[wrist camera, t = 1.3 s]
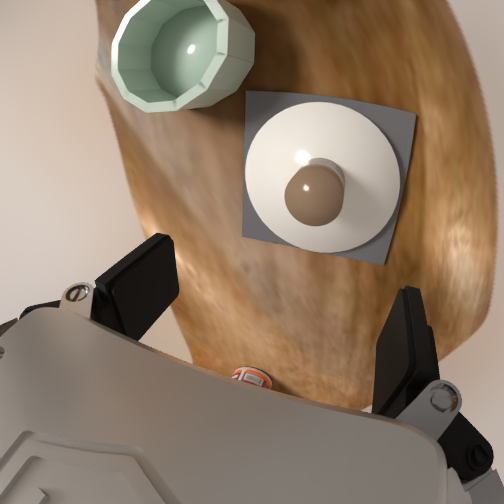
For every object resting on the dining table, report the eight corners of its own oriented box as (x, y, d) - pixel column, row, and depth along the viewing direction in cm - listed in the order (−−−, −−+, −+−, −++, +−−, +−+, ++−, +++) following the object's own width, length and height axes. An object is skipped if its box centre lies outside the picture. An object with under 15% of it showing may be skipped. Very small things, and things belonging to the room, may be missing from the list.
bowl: (152, 13, 19) (114, 5, 15) (256, -6, 16) (231, -27, 12) (150, 109, 25) (112, 116, 21) (252, 107, 22) (225, 109, 18)
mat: (247, 90, 22) (245, 90, 21) (415, 113, 18) (415, 113, 17) (243, 234, 29) (242, 236, 28) (383, 263, 25) (383, 265, 25)
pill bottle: (245, 388, 43) (219, 443, 34) (228, 365, 41) (196, 423, 32) (279, 389, 40) (256, 449, 31) (263, 364, 38) (235, 429, 29)
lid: (251, 96, 21) (224, 96, 17) (409, 118, 18) (425, 122, 13) (247, 232, 28) (224, 260, 24) (379, 259, 25) (382, 295, 20)
